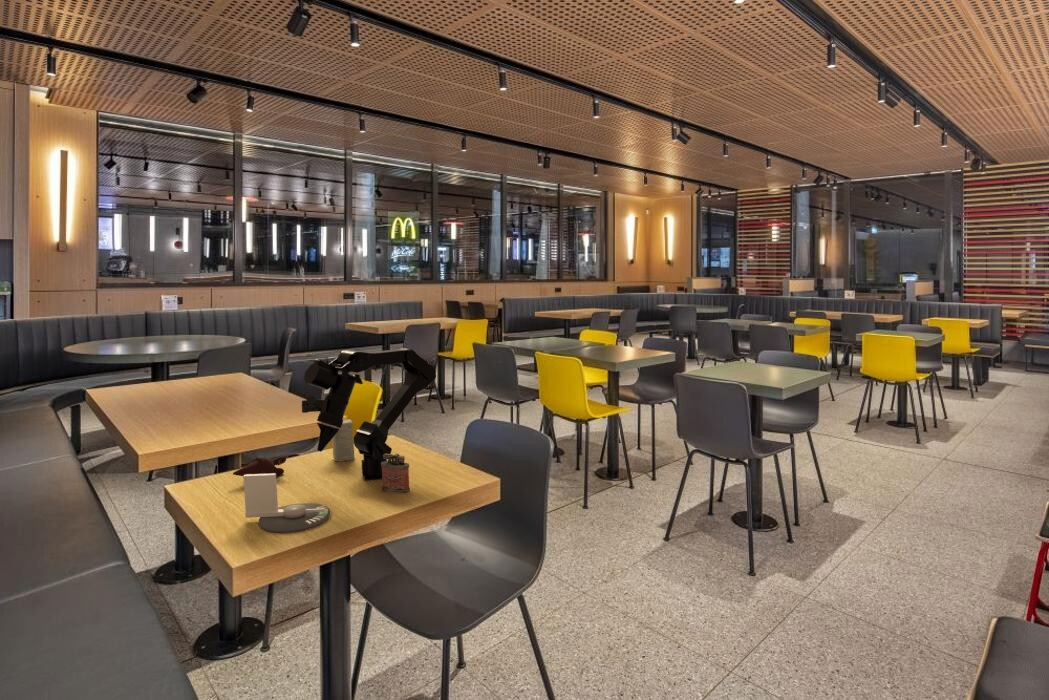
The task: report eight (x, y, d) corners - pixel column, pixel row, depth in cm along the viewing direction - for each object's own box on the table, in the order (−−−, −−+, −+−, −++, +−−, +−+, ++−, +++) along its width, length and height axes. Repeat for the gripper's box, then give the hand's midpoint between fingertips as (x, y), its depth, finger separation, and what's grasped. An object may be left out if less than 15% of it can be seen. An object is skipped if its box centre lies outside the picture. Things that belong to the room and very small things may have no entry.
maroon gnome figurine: (240, 468, 165) (293, 459, 177) (229, 456, 170) (280, 448, 181) (237, 491, 167) (289, 481, 178) (225, 478, 171) (277, 470, 183)
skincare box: (352, 456, 197) (351, 418, 195) (354, 459, 193) (353, 422, 191) (332, 458, 194) (330, 420, 193) (334, 462, 190) (332, 424, 189)
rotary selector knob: (327, 508, 150) (325, 468, 149) (322, 516, 145) (320, 475, 144) (250, 512, 148) (247, 471, 147) (243, 520, 143) (240, 478, 142)
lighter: (412, 490, 166) (411, 453, 164) (406, 494, 163) (404, 457, 161) (386, 486, 168) (385, 451, 167) (379, 491, 165) (378, 454, 164)
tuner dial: (329, 502, 157) (329, 498, 157) (331, 527, 142) (331, 522, 142) (261, 511, 152) (261, 506, 152) (255, 537, 137) (255, 532, 137)
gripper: (310, 387, 173) (290, 441, 170) (308, 383, 156) (286, 443, 152) (349, 399, 176) (330, 453, 173) (351, 396, 158) (330, 456, 155)
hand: (319, 451), depth 163 cm, fingers closed
